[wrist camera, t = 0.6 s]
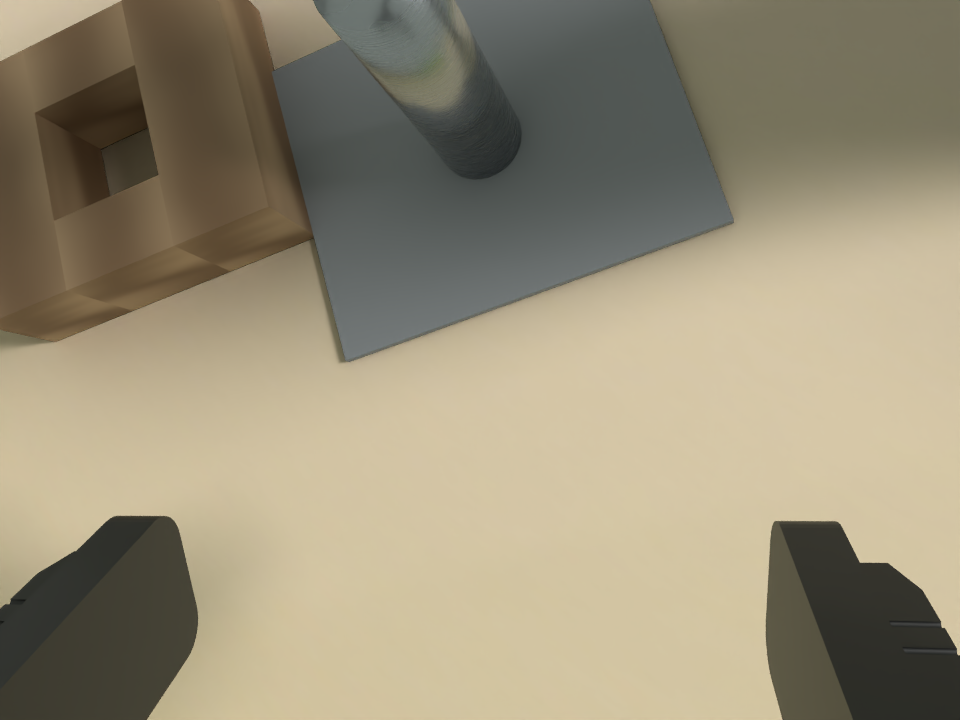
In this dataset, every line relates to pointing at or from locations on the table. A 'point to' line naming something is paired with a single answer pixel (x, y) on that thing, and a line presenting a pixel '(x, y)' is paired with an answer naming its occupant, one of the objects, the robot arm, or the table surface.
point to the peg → (433, 77)
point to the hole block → (178, 154)
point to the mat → (512, 192)
